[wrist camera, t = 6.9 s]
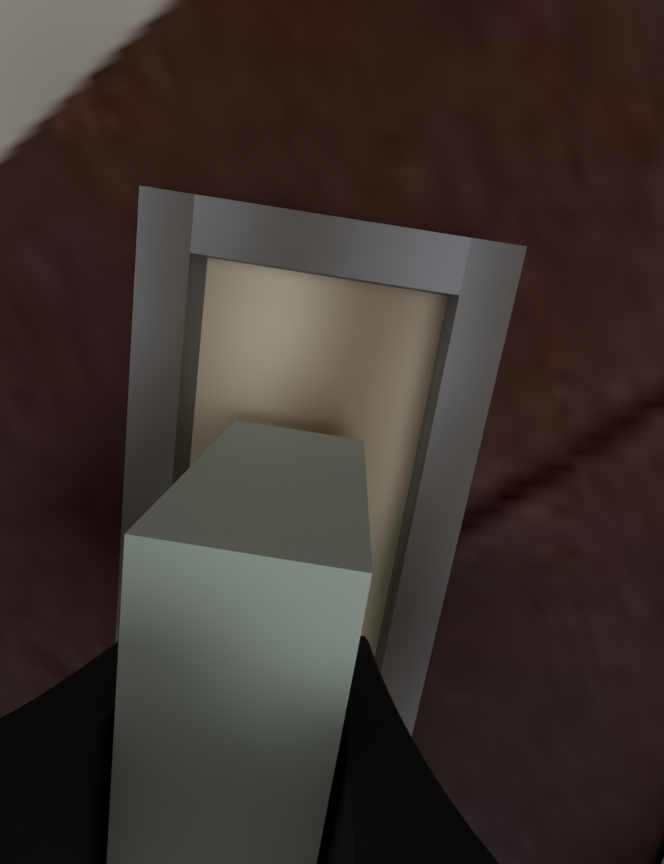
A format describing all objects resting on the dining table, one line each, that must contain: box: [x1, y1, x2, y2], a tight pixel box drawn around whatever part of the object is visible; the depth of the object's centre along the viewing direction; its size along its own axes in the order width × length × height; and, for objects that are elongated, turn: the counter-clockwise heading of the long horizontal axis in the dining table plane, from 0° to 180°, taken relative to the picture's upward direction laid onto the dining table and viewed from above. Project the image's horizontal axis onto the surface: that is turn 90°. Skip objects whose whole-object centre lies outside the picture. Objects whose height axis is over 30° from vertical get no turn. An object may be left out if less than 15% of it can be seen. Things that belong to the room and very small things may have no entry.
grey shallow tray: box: [115, 186, 527, 737], centre depth 14 cm, size 8×18×2 cm, turn 171°
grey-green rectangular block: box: [107, 420, 372, 864], centre depth 10 cm, size 3×9×6 cm, turn 171°
